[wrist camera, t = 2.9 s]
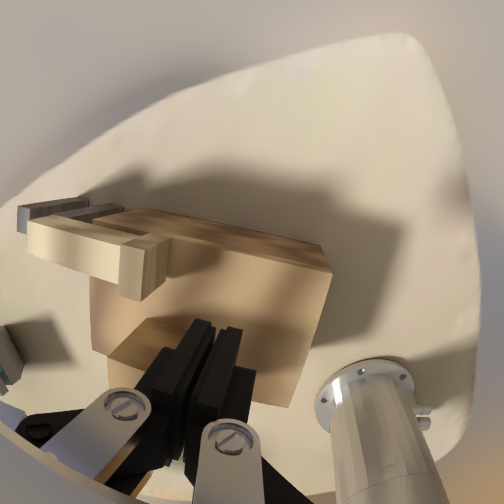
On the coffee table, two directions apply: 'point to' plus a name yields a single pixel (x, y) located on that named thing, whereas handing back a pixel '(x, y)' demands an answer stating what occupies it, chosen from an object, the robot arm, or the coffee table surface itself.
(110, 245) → the pale wooden bar
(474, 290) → the coffee table surface
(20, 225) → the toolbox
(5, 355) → the sharpening stone
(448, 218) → the coffee table surface
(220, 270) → the lid
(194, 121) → the coffee table surface
